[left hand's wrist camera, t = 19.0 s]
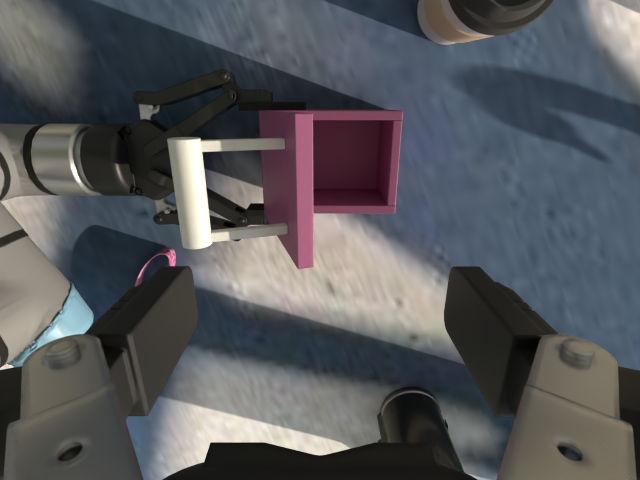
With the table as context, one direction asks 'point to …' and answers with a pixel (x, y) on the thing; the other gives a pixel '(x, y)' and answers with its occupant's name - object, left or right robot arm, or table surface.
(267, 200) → the lid
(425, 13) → the coffee cup
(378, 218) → the table surface
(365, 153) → the chest
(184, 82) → the right robot arm
